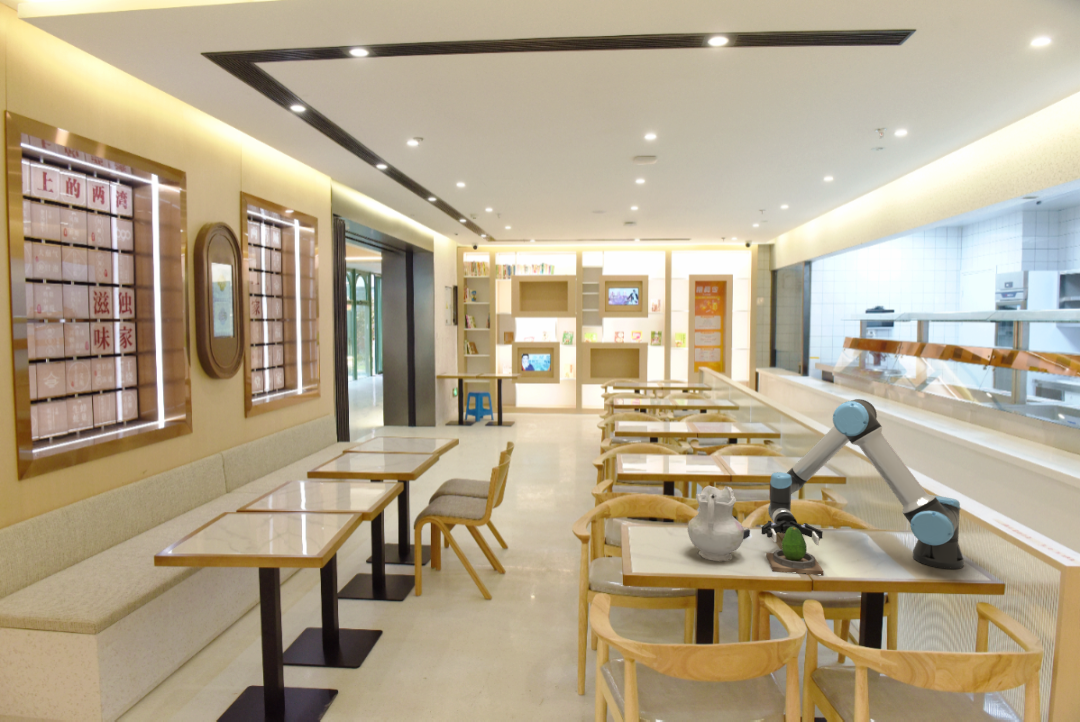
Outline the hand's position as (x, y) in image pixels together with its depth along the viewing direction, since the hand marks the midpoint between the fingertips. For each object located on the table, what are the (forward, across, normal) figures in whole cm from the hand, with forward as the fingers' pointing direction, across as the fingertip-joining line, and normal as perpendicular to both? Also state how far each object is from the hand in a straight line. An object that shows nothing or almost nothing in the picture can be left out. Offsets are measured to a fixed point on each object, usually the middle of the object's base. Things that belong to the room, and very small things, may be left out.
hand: (796, 540), depth 210 cm
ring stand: (-3, 0, -10) cm, 10 cm away
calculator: (-29, +19, -11) cm, 36 cm away
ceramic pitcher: (-6, +26, -10) cm, 29 cm away
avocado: (-3, 0, -9) cm, 9 cm away
